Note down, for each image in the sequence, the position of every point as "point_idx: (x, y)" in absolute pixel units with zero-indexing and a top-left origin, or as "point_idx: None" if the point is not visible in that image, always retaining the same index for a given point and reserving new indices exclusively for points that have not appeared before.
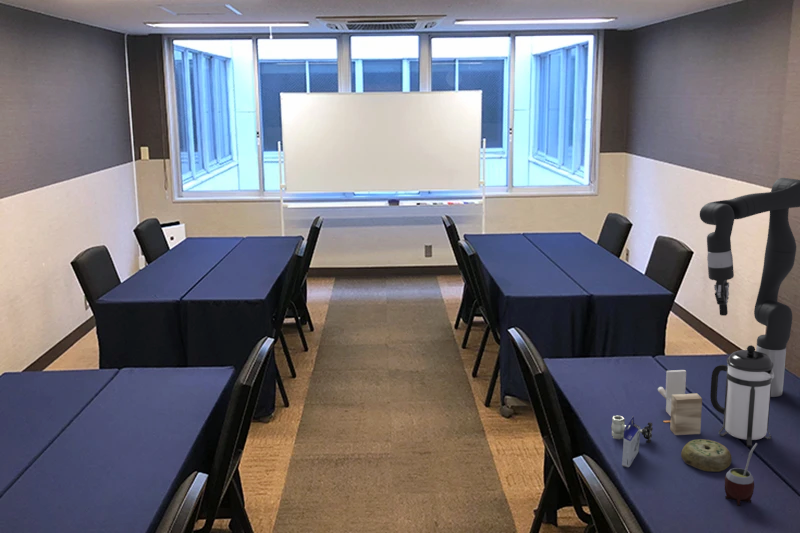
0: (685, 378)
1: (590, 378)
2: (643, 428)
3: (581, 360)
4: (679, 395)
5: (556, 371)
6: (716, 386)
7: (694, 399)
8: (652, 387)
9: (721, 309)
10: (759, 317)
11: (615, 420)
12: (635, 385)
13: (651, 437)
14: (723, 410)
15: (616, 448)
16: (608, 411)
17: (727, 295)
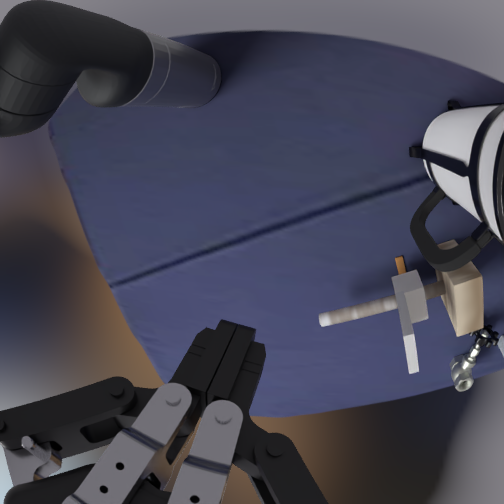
0: (410, 320)
1: None
2: (479, 345)
3: None
4: (463, 322)
5: None
6: (431, 237)
7: (482, 292)
8: (242, 305)
9: (254, 393)
10: (49, 107)
11: (469, 386)
12: None
13: None
14: (438, 202)
15: (489, 360)
16: (368, 374)
17: (204, 489)
